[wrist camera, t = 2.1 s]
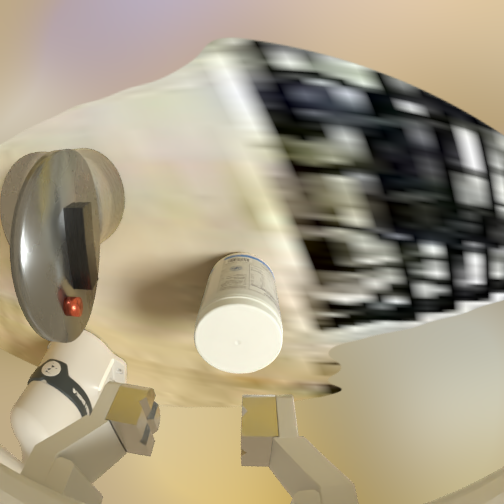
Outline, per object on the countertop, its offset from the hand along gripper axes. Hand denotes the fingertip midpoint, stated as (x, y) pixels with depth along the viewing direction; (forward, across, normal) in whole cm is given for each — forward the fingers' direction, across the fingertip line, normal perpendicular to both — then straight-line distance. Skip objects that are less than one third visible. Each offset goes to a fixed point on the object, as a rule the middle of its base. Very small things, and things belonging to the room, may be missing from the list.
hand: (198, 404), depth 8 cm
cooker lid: (+14, +15, 0) cm, 20 cm away
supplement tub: (+33, 0, +12) cm, 35 cm away
